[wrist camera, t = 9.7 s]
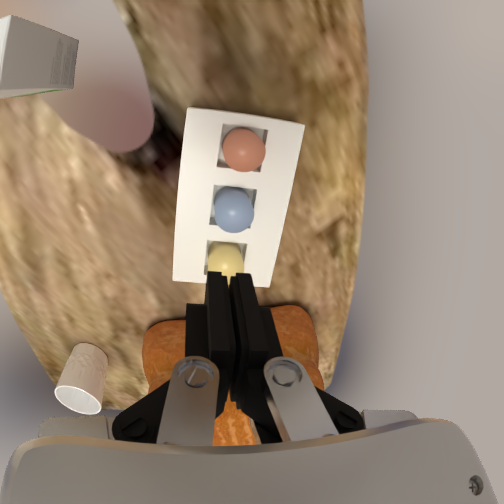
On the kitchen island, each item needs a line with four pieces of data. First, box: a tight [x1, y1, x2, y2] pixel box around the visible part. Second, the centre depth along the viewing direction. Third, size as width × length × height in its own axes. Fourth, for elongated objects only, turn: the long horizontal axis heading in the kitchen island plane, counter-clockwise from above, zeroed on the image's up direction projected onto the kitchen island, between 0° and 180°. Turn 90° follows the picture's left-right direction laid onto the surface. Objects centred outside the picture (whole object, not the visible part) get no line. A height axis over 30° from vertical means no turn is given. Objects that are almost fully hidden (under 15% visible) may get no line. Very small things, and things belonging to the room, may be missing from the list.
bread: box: [142, 305, 324, 446], centre depth 40 cm, size 16×26×17 cm, turn 95°
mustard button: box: [208, 241, 244, 285], centre depth 36 cm, size 4×4×4 cm
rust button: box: [222, 127, 266, 172], centre depth 30 cm, size 4×4×4 cm
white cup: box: [55, 343, 108, 414], centre depth 41 cm, size 8×8×10 cm
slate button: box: [214, 186, 254, 233], centre depth 33 cm, size 4×4×4 cm
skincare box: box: [0, 15, 79, 98], centre depth 18 cm, size 8×7×16 cm
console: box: [173, 107, 305, 287], centre depth 34 cm, size 20×12×4 cm, turn 171°
